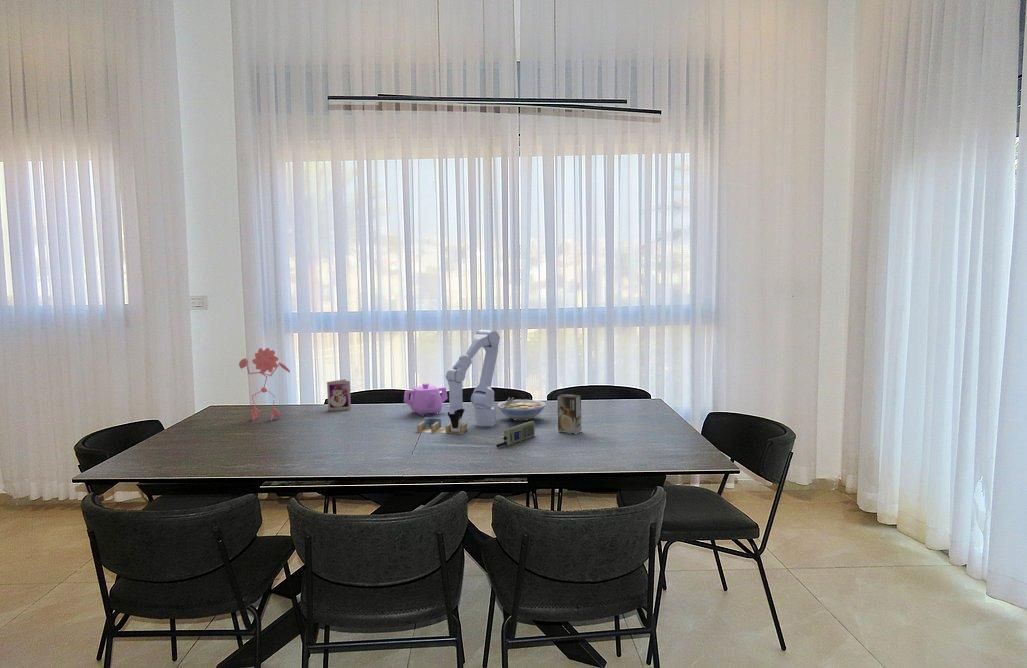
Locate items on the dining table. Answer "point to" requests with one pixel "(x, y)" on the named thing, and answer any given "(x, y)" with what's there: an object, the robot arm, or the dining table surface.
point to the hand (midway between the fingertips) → (456, 426)
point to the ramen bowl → (521, 408)
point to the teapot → (425, 399)
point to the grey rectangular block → (458, 426)
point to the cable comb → (437, 426)
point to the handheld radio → (518, 433)
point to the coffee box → (569, 413)
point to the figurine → (264, 362)
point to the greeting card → (338, 395)
